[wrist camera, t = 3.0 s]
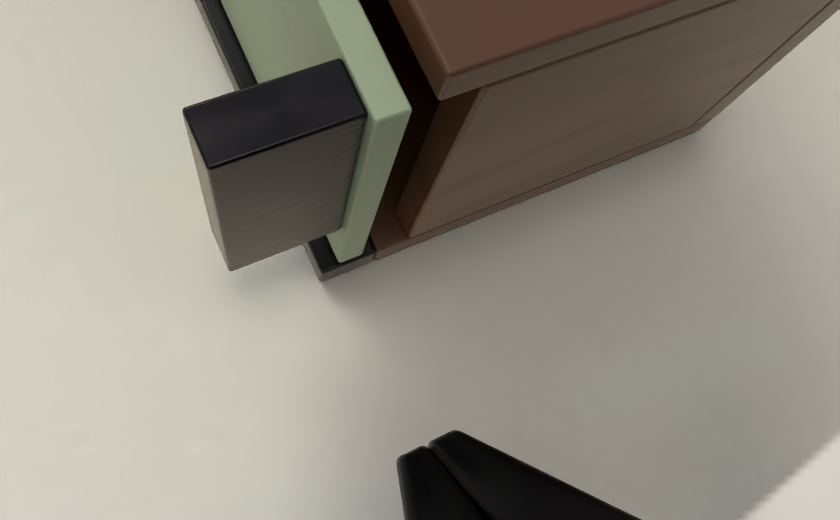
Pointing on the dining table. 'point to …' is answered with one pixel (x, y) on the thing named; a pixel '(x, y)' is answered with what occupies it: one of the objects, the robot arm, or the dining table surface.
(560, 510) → the robot arm
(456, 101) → the cabinet
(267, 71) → the sliding cabinet door
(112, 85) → the dining table surface
